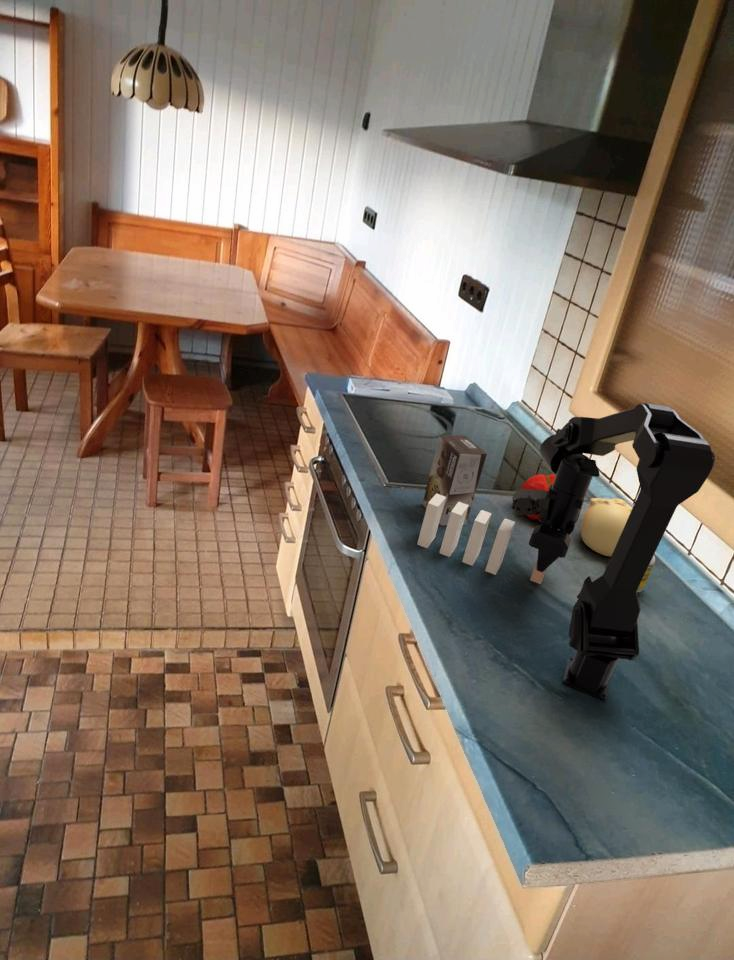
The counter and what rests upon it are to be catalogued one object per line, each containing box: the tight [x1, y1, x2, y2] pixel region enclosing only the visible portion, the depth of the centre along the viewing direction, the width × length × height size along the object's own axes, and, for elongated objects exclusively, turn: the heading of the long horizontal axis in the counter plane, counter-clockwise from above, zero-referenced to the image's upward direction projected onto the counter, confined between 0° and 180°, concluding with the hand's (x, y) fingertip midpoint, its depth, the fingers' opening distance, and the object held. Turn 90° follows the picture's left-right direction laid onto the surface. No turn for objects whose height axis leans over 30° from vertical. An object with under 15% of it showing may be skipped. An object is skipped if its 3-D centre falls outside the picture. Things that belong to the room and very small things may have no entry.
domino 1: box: [416, 493, 446, 549], centre depth 131 cm, size 5×2×9 cm, turn 157°
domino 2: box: [439, 502, 469, 558], centre depth 130 cm, size 5×2×9 cm, turn 157°
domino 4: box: [485, 518, 516, 576], centre depth 128 cm, size 5×2×9 cm, turn 157°
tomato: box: [520, 473, 556, 524], centre depth 150 cm, size 11×12×9 cm
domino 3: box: [461, 509, 492, 567], centre depth 129 cm, size 5×2×9 cm, turn 157°
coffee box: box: [422, 434, 488, 526], centre depth 141 cm, size 9×6×16 cm
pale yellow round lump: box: [580, 497, 633, 558], centre depth 143 cm, size 12×12×11 cm
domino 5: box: [529, 529, 559, 585], centre depth 125 cm, size 5×2×9 cm, turn 157°
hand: (542, 564), depth 125 cm, fingers closed on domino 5, 5 cm apart
